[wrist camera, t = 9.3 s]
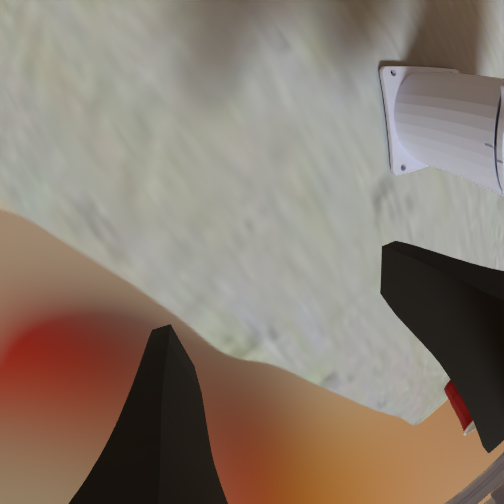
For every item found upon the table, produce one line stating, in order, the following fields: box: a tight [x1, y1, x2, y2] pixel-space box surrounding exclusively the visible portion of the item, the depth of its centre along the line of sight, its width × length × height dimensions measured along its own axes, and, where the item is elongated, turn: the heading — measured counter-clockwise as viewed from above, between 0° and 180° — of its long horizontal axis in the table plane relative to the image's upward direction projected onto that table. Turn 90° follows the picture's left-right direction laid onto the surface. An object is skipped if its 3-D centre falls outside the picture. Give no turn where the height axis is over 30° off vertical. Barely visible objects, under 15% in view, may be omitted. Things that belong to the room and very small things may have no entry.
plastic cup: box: [444, 380, 476, 436], centre depth 41 cm, size 11×11×12 cm
